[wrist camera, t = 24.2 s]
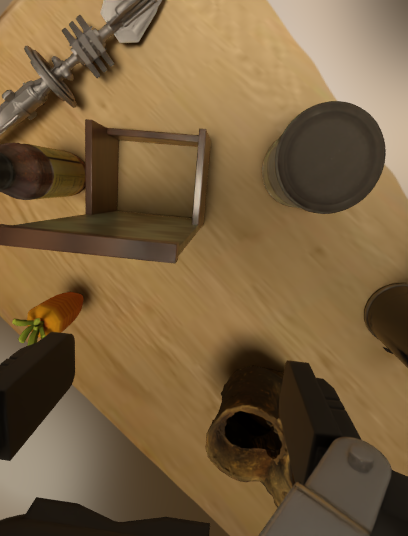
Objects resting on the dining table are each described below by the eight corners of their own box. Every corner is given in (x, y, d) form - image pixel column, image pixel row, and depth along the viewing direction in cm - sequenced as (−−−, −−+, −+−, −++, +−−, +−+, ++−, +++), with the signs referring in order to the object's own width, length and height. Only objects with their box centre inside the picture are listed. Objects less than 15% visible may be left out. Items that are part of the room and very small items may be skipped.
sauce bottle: (41, 165, 46) (-92, 146, 27) (75, 144, 45) (-39, 108, 26) (65, 205, 47) (-47, 214, 28) (99, 185, 46) (7, 181, 27)
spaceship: (-92, 127, 38) (-70, 173, 36) (128, -70, 35) (165, -30, 33) (-31, 157, 46) (-11, 197, 44) (154, -2, 42) (185, 34, 41)
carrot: (63, 283, 50) (-4, 320, 36) (92, 280, 50) (36, 316, 35) (70, 311, 51) (7, 358, 37) (98, 309, 51) (46, 355, 36)
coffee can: (285, 116, 42) (312, 79, 28) (351, 152, 42) (409, 133, 29) (247, 186, 44) (255, 183, 31) (310, 220, 45) (345, 232, 31)
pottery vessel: (345, 430, 53) (412, 567, 33) (294, 462, 55) (329, 608, 36) (249, 326, 50) (262, 411, 30) (199, 365, 52) (182, 467, 33)
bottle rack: (210, 141, 43) (188, 77, 19) (203, 226, 46) (175, 263, 22) (113, 133, 44) (-27, 62, 20) (112, 217, 47) (-12, 244, 23)
